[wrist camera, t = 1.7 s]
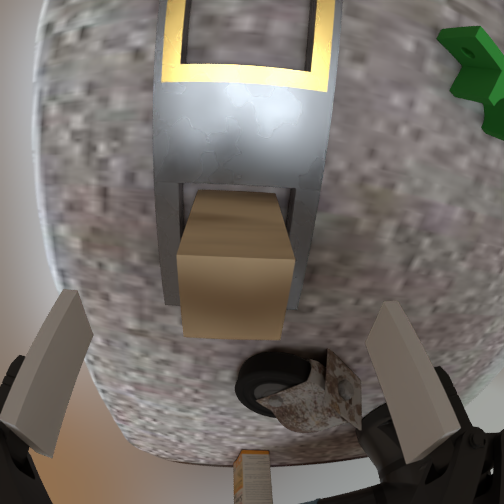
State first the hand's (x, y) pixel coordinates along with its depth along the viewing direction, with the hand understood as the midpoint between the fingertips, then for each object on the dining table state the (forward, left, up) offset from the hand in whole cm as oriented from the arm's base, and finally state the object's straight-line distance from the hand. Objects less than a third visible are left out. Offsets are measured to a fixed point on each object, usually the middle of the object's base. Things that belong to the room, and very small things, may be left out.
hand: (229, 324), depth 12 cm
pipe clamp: (+12, -18, -10) cm, 24 cm away
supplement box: (-43, -4, -10) cm, 45 cm away
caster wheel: (-17, -7, -10) cm, 21 cm away
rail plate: (+7, 0, -10) cm, 12 cm away
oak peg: (0, 0, -10) cm, 10 cm away
